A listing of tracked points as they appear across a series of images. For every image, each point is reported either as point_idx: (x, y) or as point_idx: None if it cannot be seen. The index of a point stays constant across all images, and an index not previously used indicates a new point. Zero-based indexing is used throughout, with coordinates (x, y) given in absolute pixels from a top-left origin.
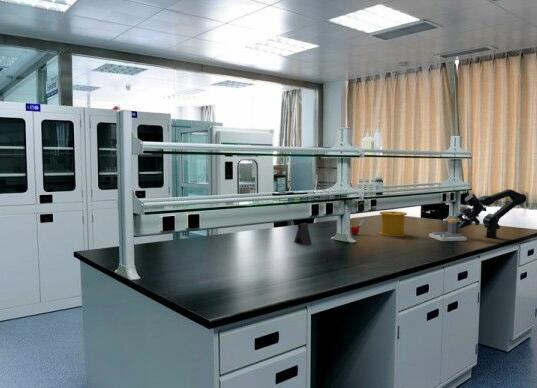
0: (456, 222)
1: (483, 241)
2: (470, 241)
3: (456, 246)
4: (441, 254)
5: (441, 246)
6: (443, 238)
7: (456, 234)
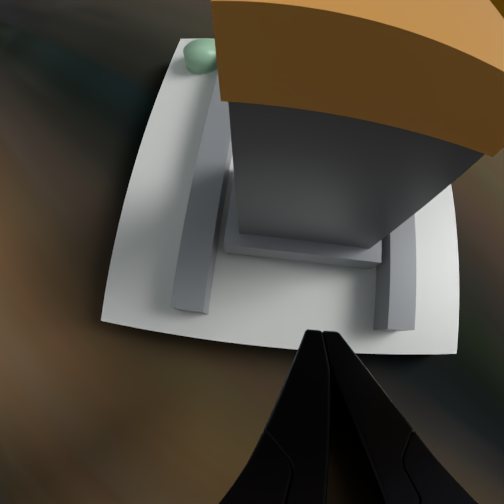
0: (222, 88)
1: (45, 458)
2: (64, 323)
3: (13, 78)
4: (3, 3)
5: (64, 16)
6: (178, 51)
7: (188, 203)
